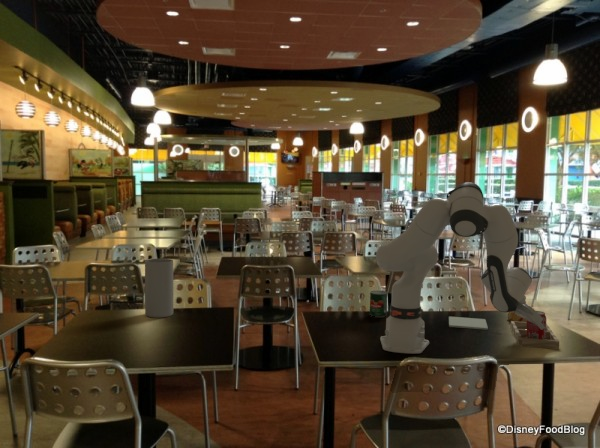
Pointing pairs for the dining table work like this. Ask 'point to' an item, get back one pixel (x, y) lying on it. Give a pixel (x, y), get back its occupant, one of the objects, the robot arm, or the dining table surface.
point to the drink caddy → (520, 332)
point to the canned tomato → (378, 303)
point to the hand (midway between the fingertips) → (537, 325)
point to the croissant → (515, 317)
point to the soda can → (536, 328)
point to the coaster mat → (468, 323)
